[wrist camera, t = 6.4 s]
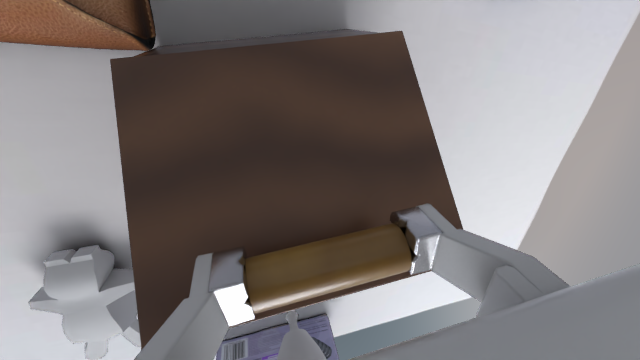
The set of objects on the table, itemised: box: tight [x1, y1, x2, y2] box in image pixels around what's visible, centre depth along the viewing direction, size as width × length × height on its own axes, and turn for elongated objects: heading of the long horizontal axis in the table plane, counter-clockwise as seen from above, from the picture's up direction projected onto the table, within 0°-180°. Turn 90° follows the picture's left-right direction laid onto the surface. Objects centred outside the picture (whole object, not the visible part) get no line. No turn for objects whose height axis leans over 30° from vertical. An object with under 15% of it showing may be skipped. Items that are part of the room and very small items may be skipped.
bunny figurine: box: [29, 245, 141, 360], centre depth 29 cm, size 10×5×15 cm
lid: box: [110, 31, 463, 350], centre depth 12 cm, size 13×16×5 cm
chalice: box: [277, 310, 327, 360], centre depth 30 cm, size 7×7×18 cm
